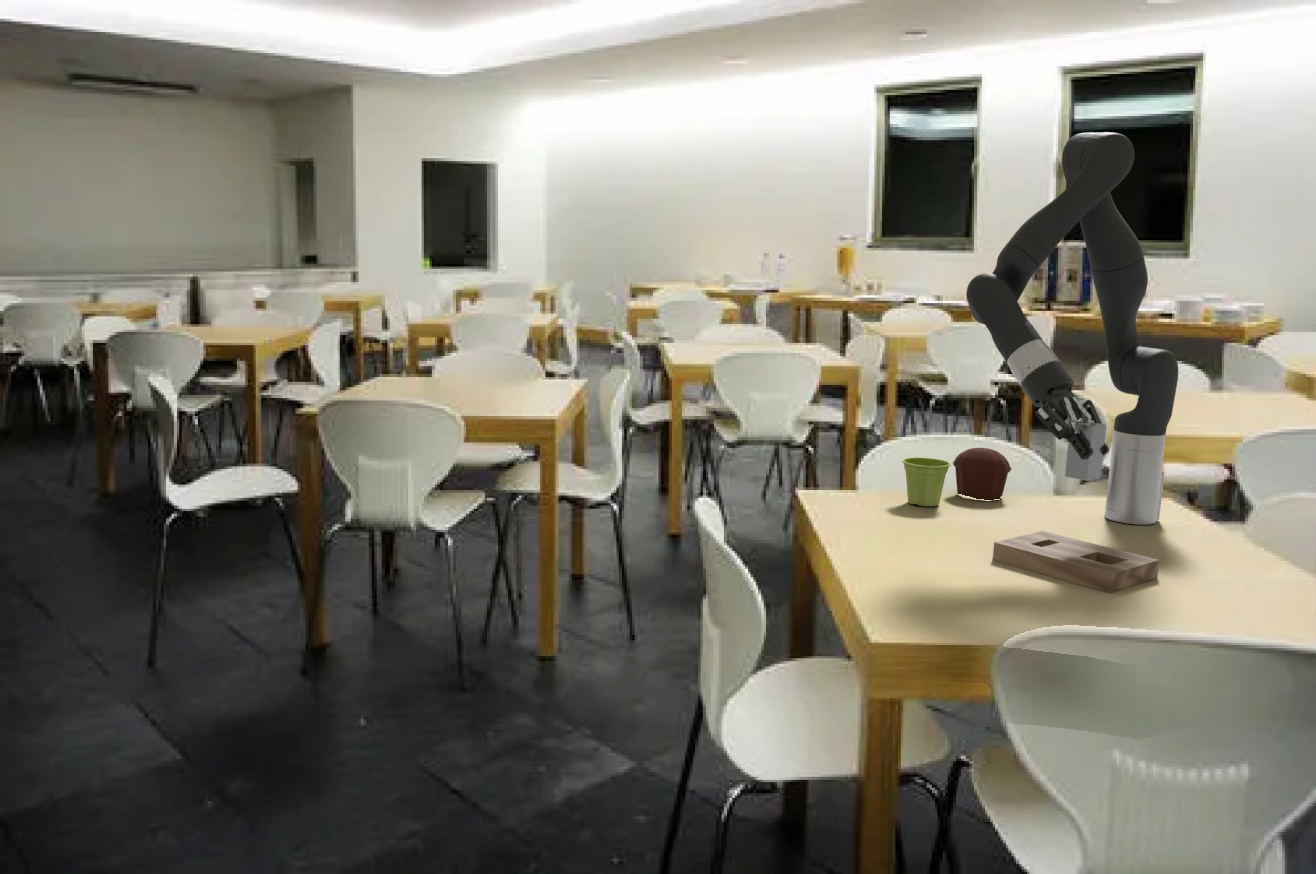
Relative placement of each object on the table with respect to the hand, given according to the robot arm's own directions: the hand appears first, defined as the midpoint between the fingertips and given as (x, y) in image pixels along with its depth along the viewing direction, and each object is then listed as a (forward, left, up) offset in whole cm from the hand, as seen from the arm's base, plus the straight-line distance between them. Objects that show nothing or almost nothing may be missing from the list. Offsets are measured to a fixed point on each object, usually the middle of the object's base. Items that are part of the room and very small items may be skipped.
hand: (1096, 455), depth 187 cm
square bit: (0, -2, -4) cm, 5 cm away
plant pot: (-3, -43, -18) cm, 47 cm away
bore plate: (+5, +2, -18) cm, 19 cm away
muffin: (-19, -44, -18) cm, 51 cm away
